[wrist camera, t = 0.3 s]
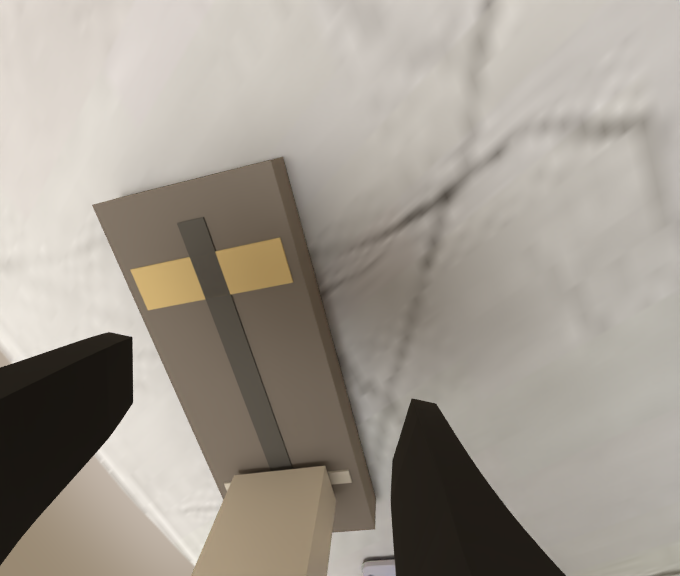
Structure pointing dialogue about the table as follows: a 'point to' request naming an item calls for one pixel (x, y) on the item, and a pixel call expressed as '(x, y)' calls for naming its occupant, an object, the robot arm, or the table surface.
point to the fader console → (242, 327)
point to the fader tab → (272, 526)
